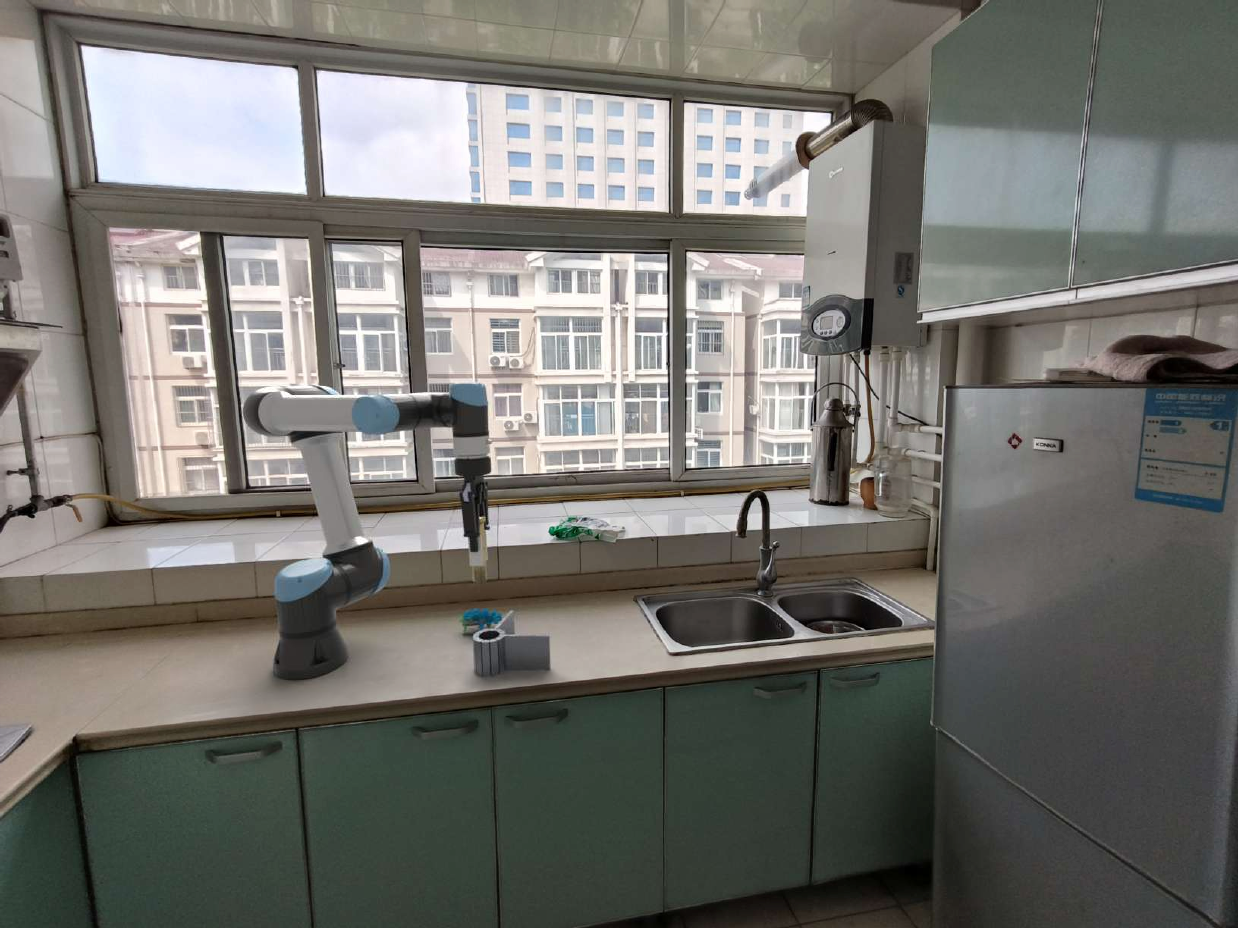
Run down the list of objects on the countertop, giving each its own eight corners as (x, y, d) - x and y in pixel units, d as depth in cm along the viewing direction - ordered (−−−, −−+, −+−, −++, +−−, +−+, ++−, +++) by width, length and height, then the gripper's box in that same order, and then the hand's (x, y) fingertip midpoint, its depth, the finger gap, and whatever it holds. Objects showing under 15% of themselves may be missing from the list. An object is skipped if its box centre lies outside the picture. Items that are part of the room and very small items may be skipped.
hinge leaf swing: (499, 660, 133) (497, 627, 132) (495, 660, 134) (494, 627, 132) (514, 640, 143) (513, 610, 142) (511, 640, 143) (510, 610, 142)
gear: (508, 618, 152) (494, 603, 145) (506, 640, 149) (492, 626, 141) (468, 622, 154) (453, 607, 146) (465, 644, 150) (449, 630, 143)
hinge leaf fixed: (471, 676, 126) (469, 642, 125) (479, 660, 133) (477, 628, 132) (548, 676, 126) (547, 642, 125) (552, 661, 133) (551, 628, 132)
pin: (468, 583, 124) (464, 519, 122) (474, 577, 128) (470, 515, 126) (486, 583, 124) (482, 519, 122) (491, 577, 127) (487, 515, 125)
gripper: (479, 461, 114) (486, 575, 117) (499, 450, 129) (504, 551, 133) (441, 461, 114) (449, 575, 117) (466, 451, 130) (472, 551, 133)
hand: (479, 562), depth 125 cm, fingers closed on pin, 3 cm apart
